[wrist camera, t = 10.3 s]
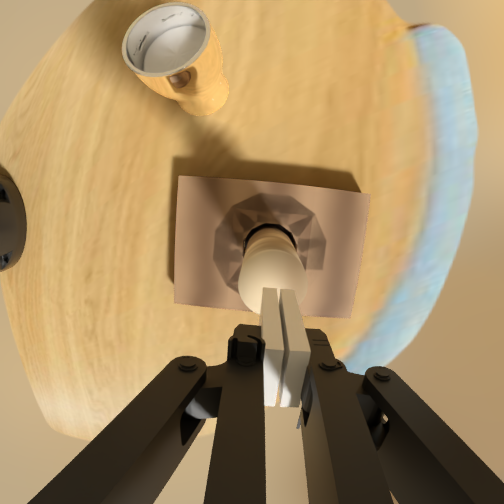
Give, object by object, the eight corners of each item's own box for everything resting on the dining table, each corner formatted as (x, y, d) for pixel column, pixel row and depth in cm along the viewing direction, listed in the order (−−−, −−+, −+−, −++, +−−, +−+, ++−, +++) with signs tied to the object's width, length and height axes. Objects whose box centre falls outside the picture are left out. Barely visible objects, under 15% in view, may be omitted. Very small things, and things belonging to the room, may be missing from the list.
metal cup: (170, 120, 32) (112, 84, 17) (176, 66, 30) (128, 6, 16) (230, 120, 32) (208, 77, 17) (235, 64, 30) (218, -4, 16)
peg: (246, 263, 35) (236, 314, 22) (249, 221, 34) (239, 248, 21) (288, 266, 35) (303, 318, 22) (292, 224, 34) (311, 253, 21)
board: (180, 293, 37) (174, 303, 34) (185, 175, 33) (178, 175, 31) (344, 308, 36) (350, 318, 33) (361, 193, 33) (370, 194, 30)
